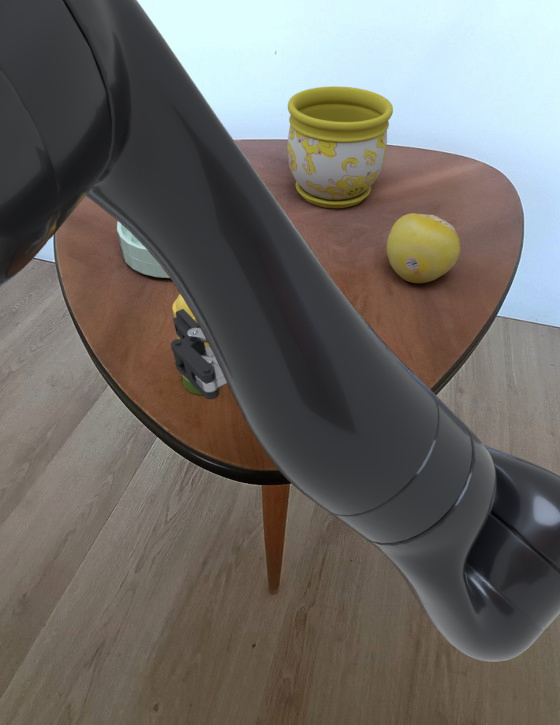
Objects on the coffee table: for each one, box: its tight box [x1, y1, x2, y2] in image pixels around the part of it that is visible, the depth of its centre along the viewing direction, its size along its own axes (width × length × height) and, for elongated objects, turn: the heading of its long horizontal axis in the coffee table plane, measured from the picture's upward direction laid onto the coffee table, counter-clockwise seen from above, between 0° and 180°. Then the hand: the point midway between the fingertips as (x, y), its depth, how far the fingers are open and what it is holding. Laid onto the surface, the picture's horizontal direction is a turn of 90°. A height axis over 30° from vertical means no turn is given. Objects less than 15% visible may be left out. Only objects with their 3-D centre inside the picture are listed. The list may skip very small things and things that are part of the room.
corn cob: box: [172, 293, 221, 396], centre depth 65 cm, size 5×5×14 cm
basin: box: [116, 221, 170, 279], centre depth 89 cm, size 17×17×6 cm
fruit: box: [386, 212, 461, 284], centre depth 83 cm, size 10×11×10 cm
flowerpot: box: [286, 85, 394, 209], centre depth 100 cm, size 18×18×16 cm
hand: (221, 302), depth 52 cm, fingers open, 8 cm apart
